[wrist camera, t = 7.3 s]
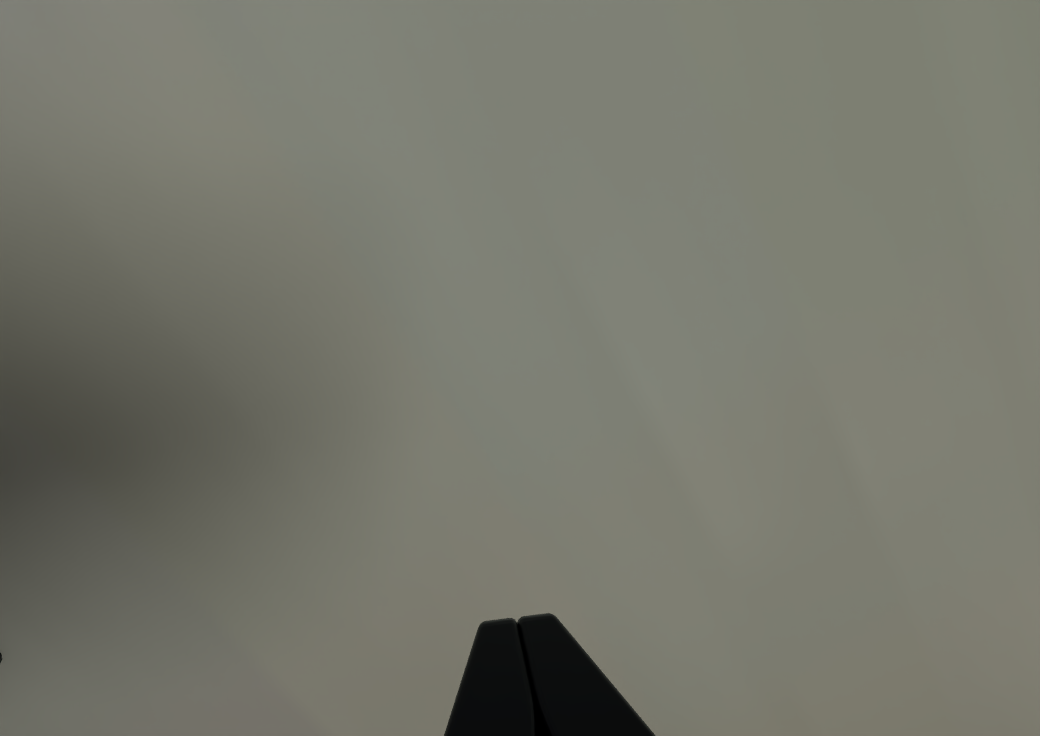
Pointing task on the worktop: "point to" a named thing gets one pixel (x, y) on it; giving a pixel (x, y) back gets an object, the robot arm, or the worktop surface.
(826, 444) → the worktop surface
